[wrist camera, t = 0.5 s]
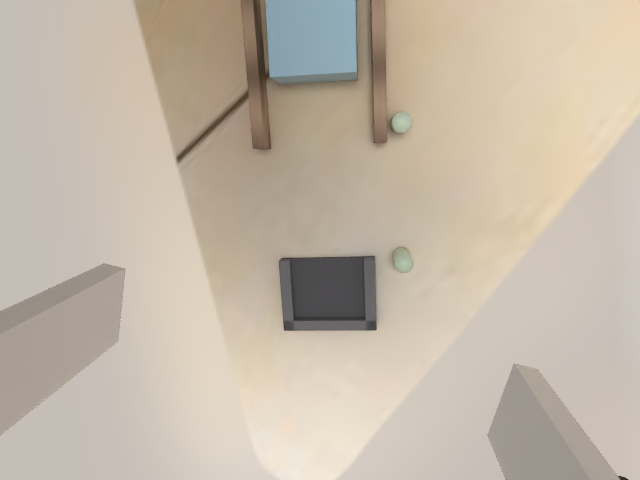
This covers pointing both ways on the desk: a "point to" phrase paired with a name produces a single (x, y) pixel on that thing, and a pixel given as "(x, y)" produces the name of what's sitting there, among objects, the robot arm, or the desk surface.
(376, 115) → the parallel brown rails
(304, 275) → the tray
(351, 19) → the block
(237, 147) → the desk surface
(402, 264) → the goal posts
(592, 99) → the desk surface
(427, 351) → the desk surface
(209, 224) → the desk surface
